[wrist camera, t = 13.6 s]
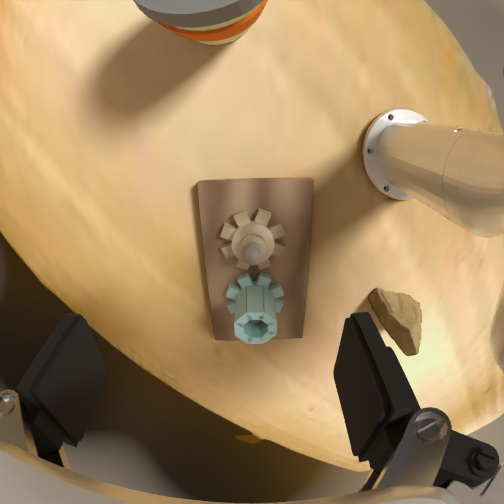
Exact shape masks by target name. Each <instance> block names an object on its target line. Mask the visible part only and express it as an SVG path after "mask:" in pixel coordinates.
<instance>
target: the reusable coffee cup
mask: <svg viewBox="0 0 504 504" xmlns="http://www.w3.org/2000/svg"><path fill="white" fill-rule="evenodd" d="M267 1H268V0H134V2H135V3H136V5H137V6H138V8H139V9H140V10H141V11H142V12H143V13H144V14H145V15H146V16H147V17H149V18H151V19H153V20H154V21H156V22H158V23H159V24H161V25H162V26H164V27H166V28H167V29H169V30H171V31H173V32H175V33H176V34H178V35H180V36H182V37H185V38H187V39H190V40H195V41H198V42H200V43H203V44H208V45H220V44H226V43H229V42H232V41H234V40H237V39H238V38H240V37H241V36H243V35H244V34H245V33H246V32H247V31H248V30H249V28H250V27H251V25H252V24H254V23H255V21H256V20H257V19H258V17H259V16H260V15H261V13H262V11H263V9H264V7H265V5H266V3H267Z"/></svg>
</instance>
